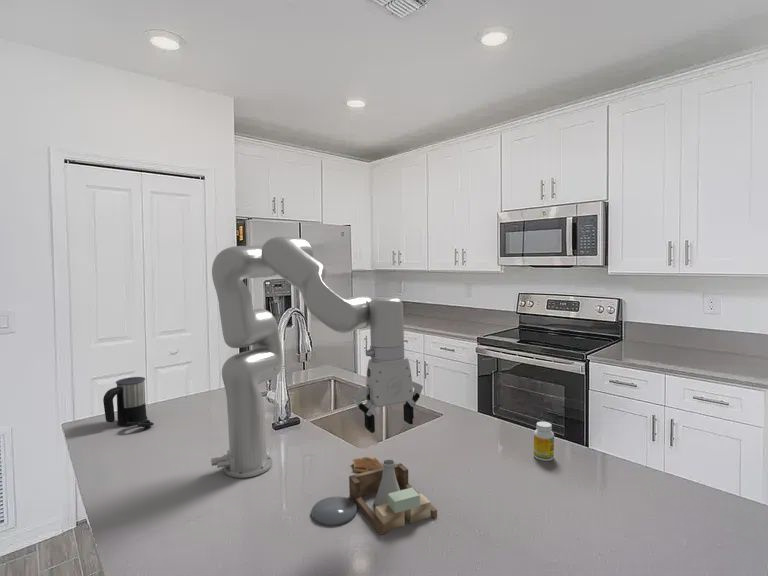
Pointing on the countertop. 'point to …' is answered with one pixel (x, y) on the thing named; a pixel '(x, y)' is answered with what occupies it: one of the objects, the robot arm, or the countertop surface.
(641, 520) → the countertop surface
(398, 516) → the oak offcut block
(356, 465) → the shard
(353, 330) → the robot arm
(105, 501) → the countertop surface
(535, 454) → the supplement bottle
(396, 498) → the sage painted offcut block
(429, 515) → the birch offcut block
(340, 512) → the disc
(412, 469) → the countertop surface
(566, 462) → the countertop surface
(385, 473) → the flask
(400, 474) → the walnut rack
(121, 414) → the milk frother
